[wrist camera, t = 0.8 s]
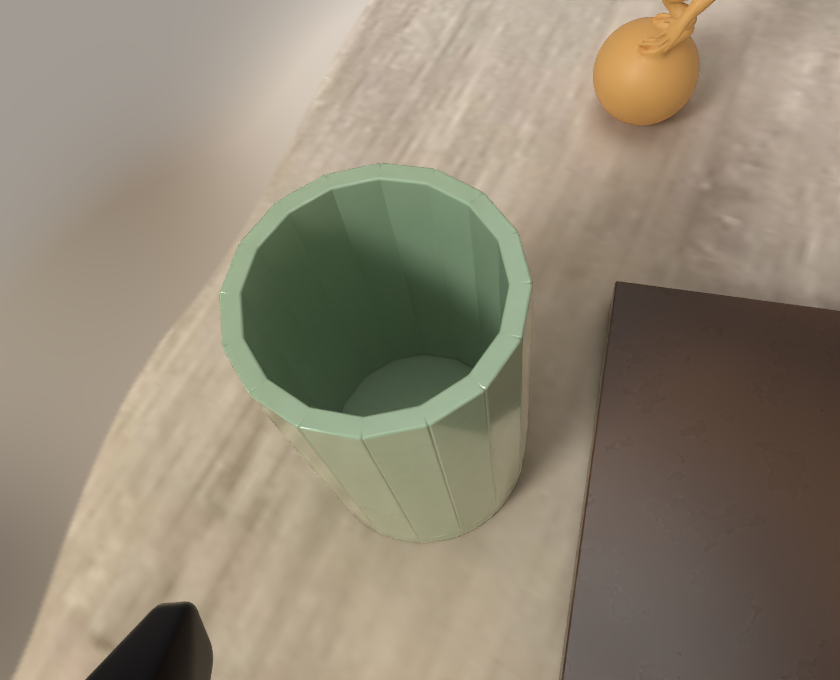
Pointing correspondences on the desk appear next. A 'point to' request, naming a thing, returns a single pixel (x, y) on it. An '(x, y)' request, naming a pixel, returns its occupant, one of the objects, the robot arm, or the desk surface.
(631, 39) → the figurine
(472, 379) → the pencil cup
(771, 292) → the desk surface
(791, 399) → the walnut board
